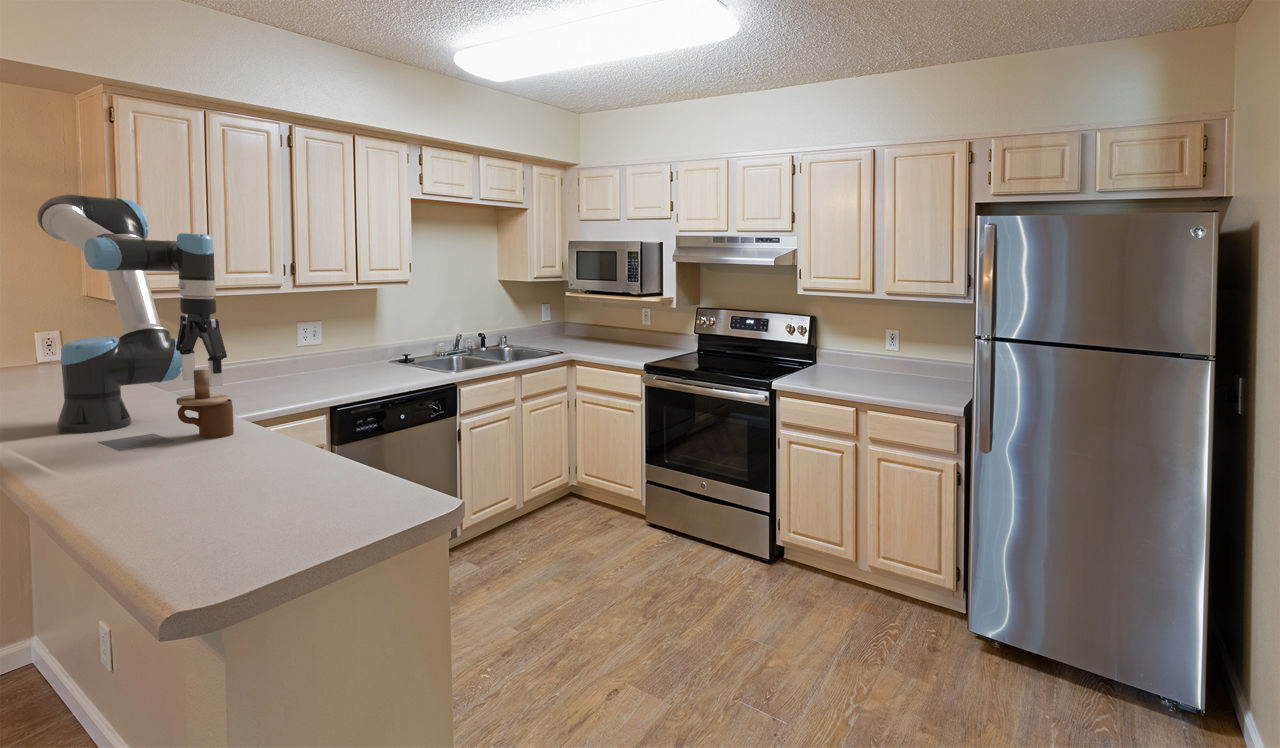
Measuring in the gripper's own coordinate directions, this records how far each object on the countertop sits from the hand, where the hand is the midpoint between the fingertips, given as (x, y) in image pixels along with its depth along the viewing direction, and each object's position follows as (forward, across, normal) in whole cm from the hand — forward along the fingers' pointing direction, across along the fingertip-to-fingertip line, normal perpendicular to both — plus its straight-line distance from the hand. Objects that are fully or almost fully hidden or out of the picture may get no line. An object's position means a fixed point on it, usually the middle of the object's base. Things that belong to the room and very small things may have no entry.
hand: (202, 383), depth 177 cm
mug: (+14, 0, 0) cm, 14 cm away
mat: (+14, -5, -13) cm, 20 cm away
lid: (+5, 0, 0) cm, 5 cm away
